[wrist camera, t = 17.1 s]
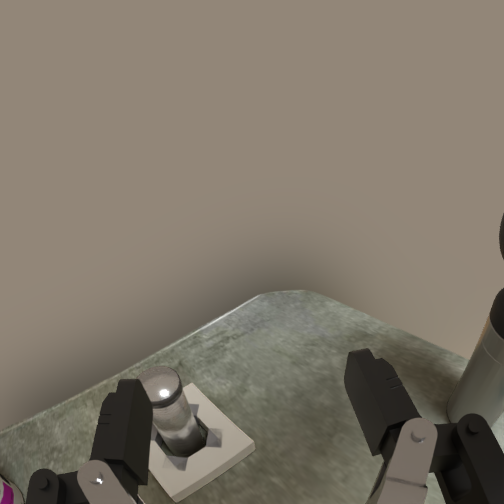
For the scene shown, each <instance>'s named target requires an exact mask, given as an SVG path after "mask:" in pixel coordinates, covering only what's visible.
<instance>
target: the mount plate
mask: <svg viewBox="0 0 504 504" xmlns="http://www.w3.org/2000/svg"><path fill="white" fill-rule="evenodd" d="M183 391H184V393H185V396H186V398H187V401H188V403H189V406H190V408H191V411H192V413H193V416H194V418H195V420H196V423H197V424H199V425H201V426H202V427H203V428H204V429H205V430H206V431H207V432H208V437H207V442H206V447H204V448H203V449H201V450H199V451H198V452H196V453H195V454H193V455H192V456H190V457H188V458H183V457H175V456H167V455H165V454H164V452H163V451H162V450H161V445H162V441H163V438H162V437H161V435H160V433H159V432H158V430H157V428H156V427H155V425H154V423H153V422H152V432H151V443H150V455H149V470H150V471H151V472H152V474H153V475H154V477H155V478H156V479H157V481H158V482H159V483H160V485H161V486H162V487H163V488H164V490H165V491H166V492H167V494H168V495H169V496H170V497H171V498H172V499H173V500H174V501H175V502H176V503H177V502H179V501H181V500H182V499H184V498H186V497H187V496H189V495H190V494H192V493H194V492H195V491H197V490H198V489H200V488H202V487H203V486H205V485H206V484H208V483H209V482H211V481H212V480H214V479H215V478H217V477H218V476H220V475H221V474H223V473H224V472H226V471H227V470H228V469H230V468H231V467H233V466H234V465H235V464H237V463H238V462H240V461H241V460H242V459H244V458H245V457H246V456H248V455H249V454H250V453H252V452H253V451H254V450H256V449H255V443H254V441H253V440H252V439H251V438H250V437H249V436H247V435H246V434H245V433H244V432H243V431H242V430H241V429H240V428H238V427H237V426H236V425H235V424H234V423H233V422H232V421H231V420H230V419H229V418H228V417H226V416H225V415H224V414H223V413H222V412H221V411H220V410H219V409H218V408H217V407H216V406H215V405H214V404H213V403H212V402H211V401H210V400H209V399H208V398H207V397H206V396H205V395H204V394H203V393H202V392H201V391H200V390H199V389H198V388H197V387H196V386H195V385H194V384H193V383H191V384H189V385H187V386H186V387H184V388H183Z"/></svg>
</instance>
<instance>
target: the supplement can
mask: <svg viewBox="0 0 504 504" xmlns="http://www.w3.org/2000/svg"><path fill="white" fill-rule="evenodd" d="M0 504H24V501H23V497H22V494H21V492H20V491H19V489H18V488H17V487H16V486H15V485H14V484H13V483H11V482H10V481H9V480H7V479H6V478H5V477H4V476H2V475H1V474H0Z"/></svg>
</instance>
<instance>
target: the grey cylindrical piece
mask: <svg viewBox="0 0 504 504" xmlns="http://www.w3.org/2000/svg"><path fill="white" fill-rule="evenodd" d="M137 379H140V381H141V383H142V385H143V387H144V389H145V391H146V393H147V395H148V397H149V399H150V401H151V403H152V407H153V423H154V425H155V427H156V428H157V430H158V432H159V433H160V435H161V437H162V438H163V440H164V442H165V443H166V445H167V446H168V448H169V449H170V451H171V452H172V454H173V455H175V456H176V457H183V458H188V457H190V456H192V455H193V454H195V453H196V452H198V451H199V450H201V449H203V448H204V439H203V437H202V435H201V432H200V430H199V428H198V425H197V423H196V420H195V418H194V416H193V413H192V411H191V408H190V406H189V403H188V401H187V398H186V396H185V393H184V391H183V387H182V383H181V380H180V378H179V375H178V374H177V372H176V371H175V370H173V369H171V368H169V367H165V366H156V367H152V368H149V369H147V370H145V371H143V372H142V373H141V374H140V375H139V376H138V377H137Z"/></svg>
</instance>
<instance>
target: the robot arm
mask: <svg viewBox="0 0 504 504" xmlns="http://www.w3.org/2000/svg"><path fill="white" fill-rule="evenodd" d="M499 241H500V249H501V254H502V257H503V259H504V214H503V218H502V221H501V226H500V233H499ZM344 383H345V388H346V391H347V394H348V396H349V399H350V401H351V404H352V406H353V409H354V411H355V413H356V416H357V418H358V421H359V423H360V426H361V428H362V431H363V433H364V436H365V438H366V441H367V443H368V446H369V448H370V451H371V453H372V456H375V455H379V454H382V457H383V459H384V461H383V463H382V466H381V468H380V471H379V473H378V476H377V478H376V481H375V483H374V486H373V488H372V490H371V493H370V495H369V497H368V500H367V502H366V503H365V504H424V502H425V499H426V495H427V490H428V488H427V486H426V480H427V476H428V473H432V472H434V473H435V476H436V478H437V481H438V483H439V486H440V489H441V491H442V494H443V497H444V500H445V502H446V504H504V453H503V451H502V449H501V447H500V445H499V444H498V442H497V440H496V438H495V436H494V434H493V432H492V430H491V427H492V426H493V424H494V423H495V422H496V420H497V419H498V418H499V417H500V415H501V414H502V413H503V411H504V288H503V289H502V290H501V291H500V292H499V293H498V294H497V296H496V298H495V300H494V302H493V305H492V308H491V311H490V313H489V316H488V319H487V321H486V324H485V327H484V329H483V331H482V334H481V336H480V338H479V341H478V343H477V345H476V347H475V350H474V352H473V354H472V356H471V358H470V360H469V362H468V365H467V367H466V369H465V371H464V373H463V375H462V377H461V379H460V380H459V382H458V384H457V386H456V388H455V390H454V392H453V394H452V395H451V397H450V399H449V401H448V404H447V414H448V417H449V420H450V421H451V423H449V424H433V423H432V422H431V421H429V420H427V419H424V418H422V417H421V416H420V415H419V413H418V411H417V409H416V408H415V406H414V404H413V402H412V400H411V398H410V397H409V395H408V393H407V391H406V389H405V388H404V386H402V382H401V381H400V379H399V378H398V375H397V374H396V372H395V370H394V368H393V367H392V365H390V364H389V363H388V362H387V361H385V360H384V359H383V358H380V359H376V360H375V358H374V356H373V354H372V353H371V351H370V350H369V349H368V348H365V349H361V350H357V351H352V352H349V354H348V359H347V365H346V370H345V376H344ZM152 422H153V407H152V403H151V401H150V399H149V397H148V395H147V393H146V391H145V389H144V387H143V385H142V383H141V381H140V379H120V380H119V382H118V386H117V391H116V393H109V394H108V396H107V397H106V398H105V400H104V401H103V403H102V407H101V411H100V416H99V419H98V425H97V428H96V433H95V438H94V442H93V447H92V452H91V457H90V459H89V461H88V462H86V463H84V464H83V465H82V466H81V467H80V469H79V470H78V471H75V472H70V473H65V474H59V475H56V474H55V473H54V472H53V471H51V470H49V469H39V470H37V471H36V472H34V473H33V474H32V476H31V478H30V481H29V487H28V492H27V499H26V504H145V502H144V501H143V500H142V499H141V497H140V496H139V495H138V485H147V483H148V468H149V455H150V443H151V432H152Z"/></svg>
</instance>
